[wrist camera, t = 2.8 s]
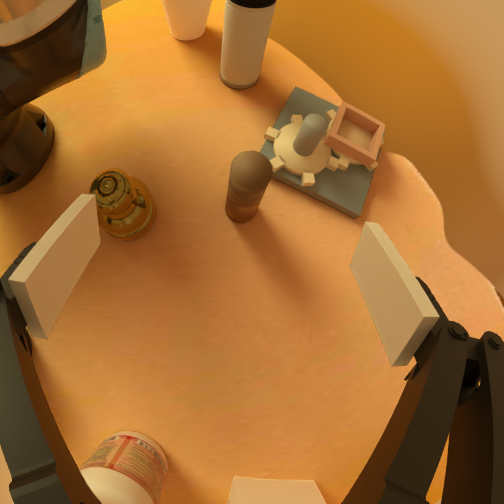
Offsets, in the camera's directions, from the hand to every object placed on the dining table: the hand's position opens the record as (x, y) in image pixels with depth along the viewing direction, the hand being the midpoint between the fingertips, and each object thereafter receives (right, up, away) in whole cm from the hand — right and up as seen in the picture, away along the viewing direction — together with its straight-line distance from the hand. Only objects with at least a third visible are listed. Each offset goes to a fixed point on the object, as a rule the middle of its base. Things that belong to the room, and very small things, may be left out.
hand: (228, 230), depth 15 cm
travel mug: (-1, +28, +31) cm, 42 cm away
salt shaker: (-15, +4, +25) cm, 29 cm away
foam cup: (-11, +40, +32) cm, 52 cm away
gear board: (+12, +14, +30) cm, 35 cm away
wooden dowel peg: (0, +5, +27) cm, 27 cm away
